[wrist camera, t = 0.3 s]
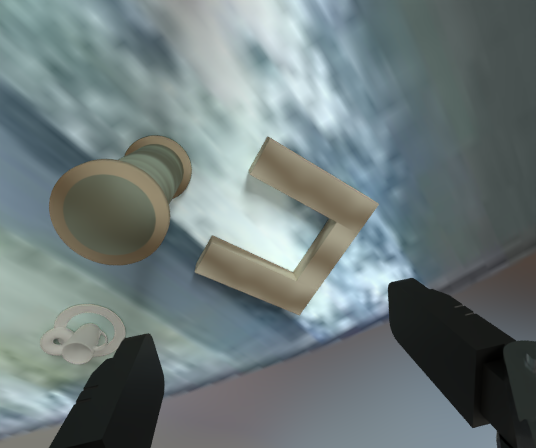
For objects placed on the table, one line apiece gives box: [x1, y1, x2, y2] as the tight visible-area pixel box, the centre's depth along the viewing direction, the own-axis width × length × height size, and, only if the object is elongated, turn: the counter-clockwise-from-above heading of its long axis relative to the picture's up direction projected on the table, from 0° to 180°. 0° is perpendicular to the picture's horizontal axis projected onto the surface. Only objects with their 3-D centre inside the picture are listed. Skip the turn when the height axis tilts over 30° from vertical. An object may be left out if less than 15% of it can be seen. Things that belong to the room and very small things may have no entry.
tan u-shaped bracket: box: [195, 137, 379, 315], centre depth 34 cm, size 16×14×2 cm
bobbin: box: [49, 136, 192, 265], centre depth 24 cm, size 6×6×14 cm
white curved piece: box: [40, 304, 125, 364], centre depth 35 cm, size 9×8×4 cm
